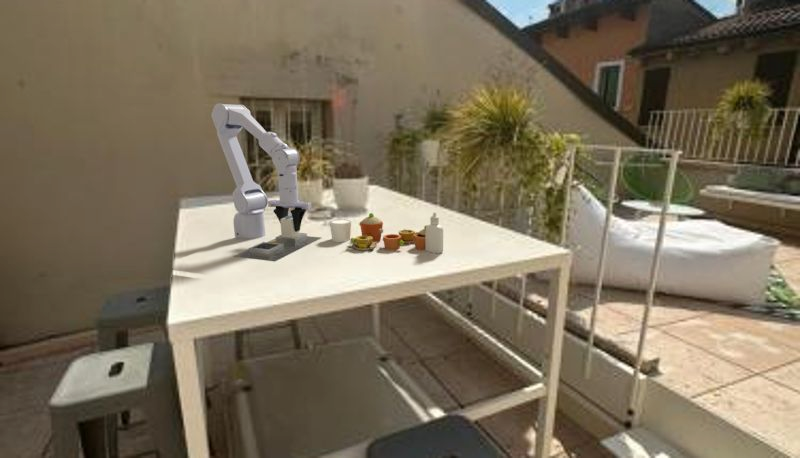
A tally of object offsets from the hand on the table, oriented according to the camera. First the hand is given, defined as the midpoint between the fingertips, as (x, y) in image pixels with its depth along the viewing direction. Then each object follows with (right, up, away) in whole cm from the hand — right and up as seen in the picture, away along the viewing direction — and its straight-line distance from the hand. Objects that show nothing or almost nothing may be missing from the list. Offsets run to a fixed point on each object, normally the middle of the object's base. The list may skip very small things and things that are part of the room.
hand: (291, 230), depth 135 cm
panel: (-2, -6, -4) cm, 8 cm away
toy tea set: (+32, -5, +1) cm, 33 cm away
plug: (0, -3, 0) cm, 3 cm away
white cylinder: (+15, -4, +3) cm, 16 cm away
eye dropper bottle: (+45, -7, -7) cm, 46 cm away
